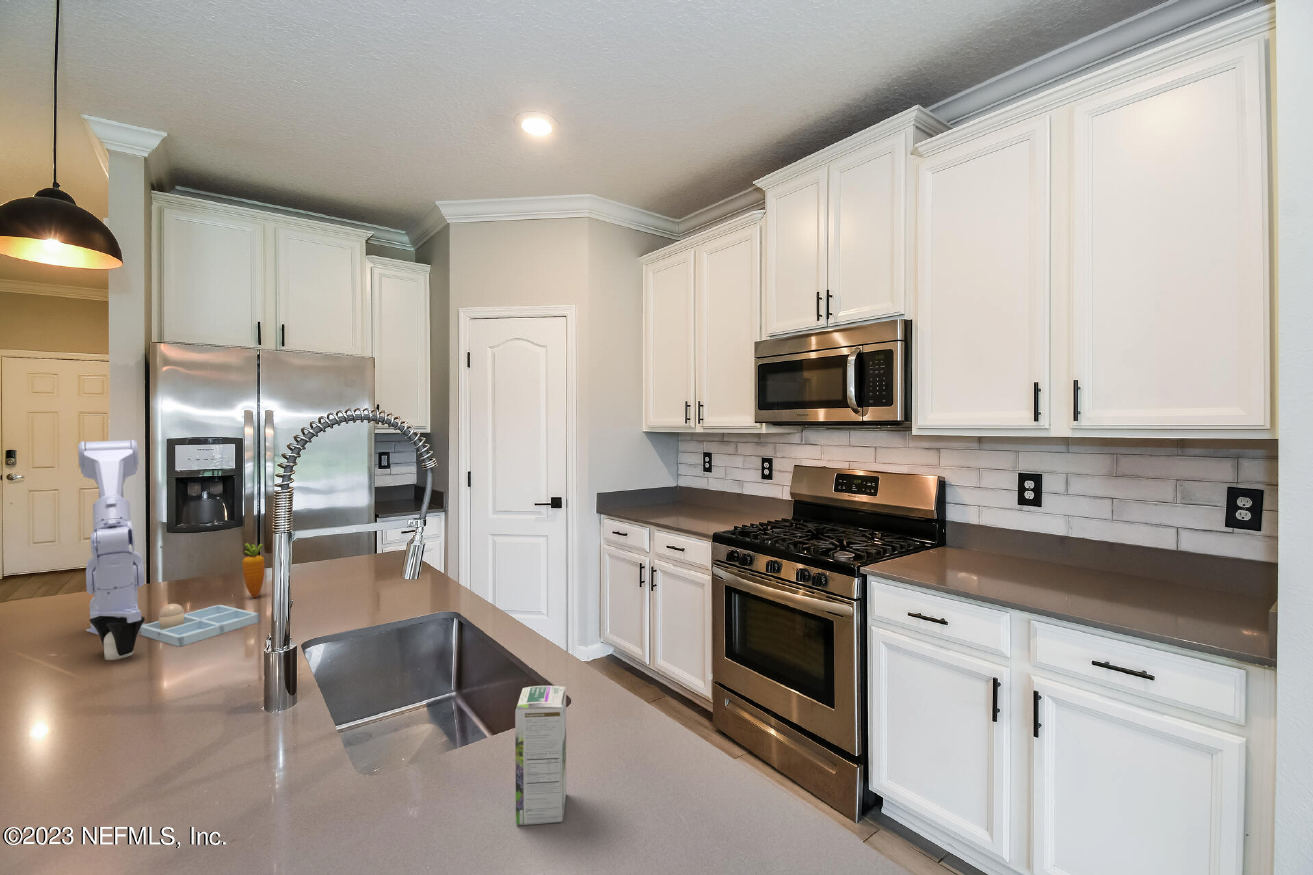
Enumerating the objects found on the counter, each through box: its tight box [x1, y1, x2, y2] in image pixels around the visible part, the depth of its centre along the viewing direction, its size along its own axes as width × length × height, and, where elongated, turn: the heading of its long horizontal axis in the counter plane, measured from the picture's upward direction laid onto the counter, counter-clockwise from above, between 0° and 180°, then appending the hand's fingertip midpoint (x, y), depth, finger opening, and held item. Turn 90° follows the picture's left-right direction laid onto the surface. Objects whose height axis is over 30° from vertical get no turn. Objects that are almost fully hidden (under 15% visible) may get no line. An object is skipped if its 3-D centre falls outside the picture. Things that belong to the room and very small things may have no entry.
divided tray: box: [138, 604, 261, 648], centre depth 138 cm, size 16×16×2 cm
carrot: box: [241, 542, 265, 599], centre depth 162 cm, size 5×5×15 cm
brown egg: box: [158, 603, 185, 630], centre depth 136 cm, size 4×4×6 cm
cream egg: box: [103, 631, 134, 661], centre depth 123 cm, size 4×4×6 cm
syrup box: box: [514, 685, 567, 826], centre depth 75 cm, size 6×6×14 cm
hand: (119, 651), depth 123 cm, fingers open, 5 cm apart
